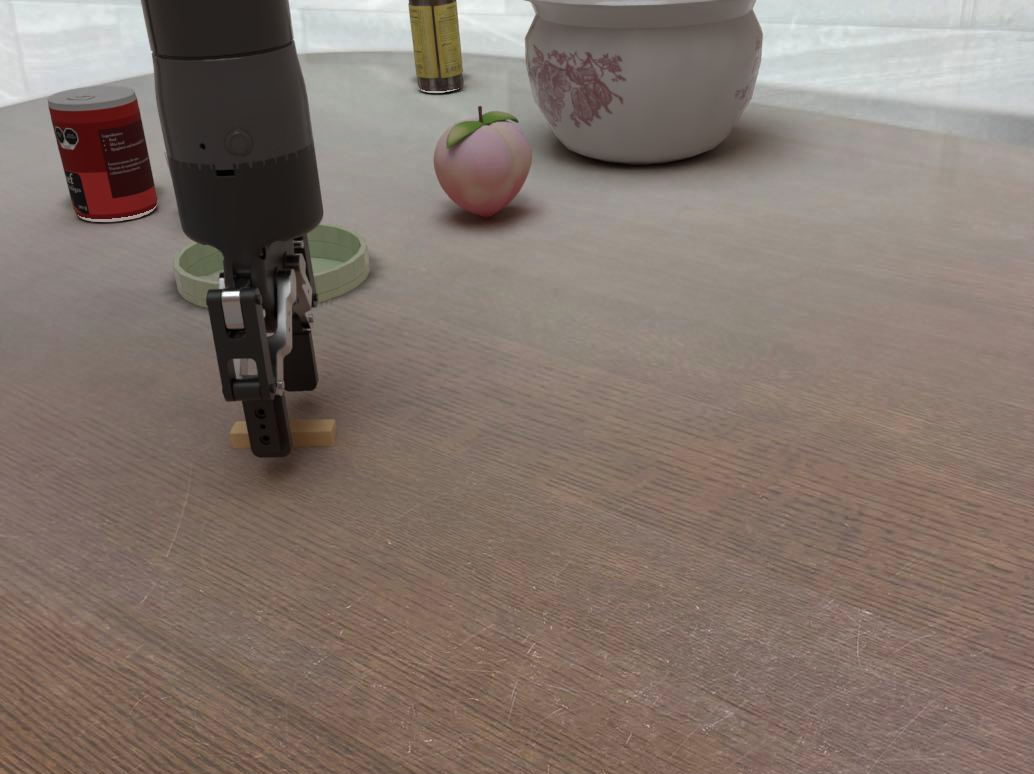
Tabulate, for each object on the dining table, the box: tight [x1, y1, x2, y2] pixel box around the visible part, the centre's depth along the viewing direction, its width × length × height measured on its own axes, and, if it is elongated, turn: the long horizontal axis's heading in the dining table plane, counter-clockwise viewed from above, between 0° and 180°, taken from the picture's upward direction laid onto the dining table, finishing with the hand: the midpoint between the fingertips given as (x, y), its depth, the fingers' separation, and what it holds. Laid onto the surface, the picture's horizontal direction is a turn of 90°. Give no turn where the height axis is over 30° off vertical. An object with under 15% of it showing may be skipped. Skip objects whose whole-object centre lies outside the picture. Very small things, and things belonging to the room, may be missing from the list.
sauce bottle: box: [408, 0, 464, 91], centre depth 154 cm, size 6×6×20 cm
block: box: [229, 418, 338, 449], centre depth 71 cm, size 6×2×2 cm, turn 89°
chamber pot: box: [524, 0, 764, 166], centre depth 125 cm, size 28×28×21 cm
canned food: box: [47, 85, 158, 219], centre depth 114 cm, size 8×8×11 cm
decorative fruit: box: [433, 105, 533, 219], centre depth 109 cm, size 9×8×10 cm
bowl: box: [172, 222, 371, 309], centre depth 96 cm, size 15×15×4 cm
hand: (287, 420), depth 71 cm, fingers open, 8 cm apart
